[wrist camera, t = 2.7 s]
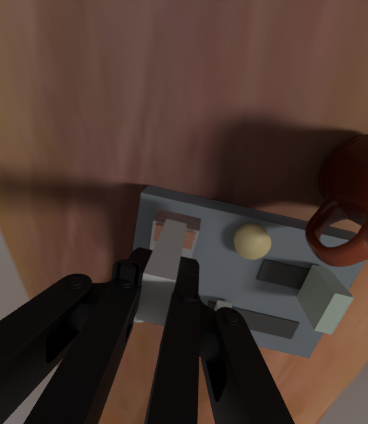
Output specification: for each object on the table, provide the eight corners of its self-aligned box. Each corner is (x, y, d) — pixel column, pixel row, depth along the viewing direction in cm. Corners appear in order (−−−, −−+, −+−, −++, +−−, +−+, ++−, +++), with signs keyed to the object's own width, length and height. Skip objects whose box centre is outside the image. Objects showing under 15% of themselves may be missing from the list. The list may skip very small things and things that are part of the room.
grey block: (312, 264, 22) (335, 293, 18) (328, 268, 22) (353, 297, 18) (296, 297, 23) (314, 330, 19) (311, 301, 23) (331, 334, 19)
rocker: (158, 208, 18) (152, 222, 17) (201, 218, 18) (199, 233, 17) (148, 273, 23) (143, 288, 21) (183, 281, 23) (180, 297, 21)
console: (148, 185, 24) (136, 197, 20) (354, 232, 24) (386, 254, 20) (130, 296, 29) (118, 324, 25) (298, 335, 29) (314, 371, 25)
